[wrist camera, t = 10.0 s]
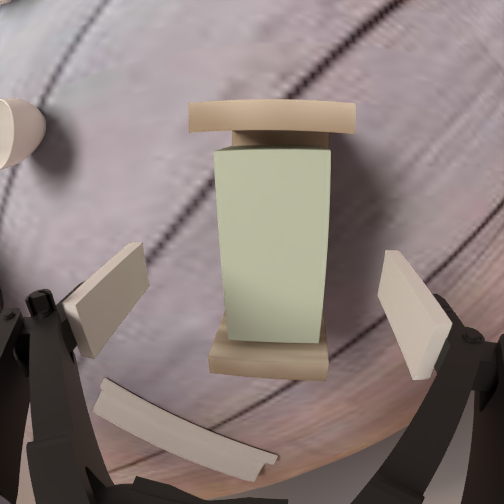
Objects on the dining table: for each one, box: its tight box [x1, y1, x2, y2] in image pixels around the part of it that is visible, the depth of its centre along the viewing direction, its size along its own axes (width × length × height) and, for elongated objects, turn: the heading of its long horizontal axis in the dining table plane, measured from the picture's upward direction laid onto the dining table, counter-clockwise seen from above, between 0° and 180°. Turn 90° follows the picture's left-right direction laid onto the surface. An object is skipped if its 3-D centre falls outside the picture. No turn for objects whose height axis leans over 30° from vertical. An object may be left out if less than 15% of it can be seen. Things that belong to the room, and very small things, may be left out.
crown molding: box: [93, 377, 278, 482], centre depth 43 cm, size 31×12×4 cm, turn 62°
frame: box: [188, 99, 356, 381], centre depth 22 cm, size 17×8×12 cm, turn 1°
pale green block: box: [214, 145, 331, 343], centre depth 19 cm, size 12×6×5 cm, turn 2°
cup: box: [0, 98, 46, 170], centre depth 24 cm, size 8×10×7 cm
